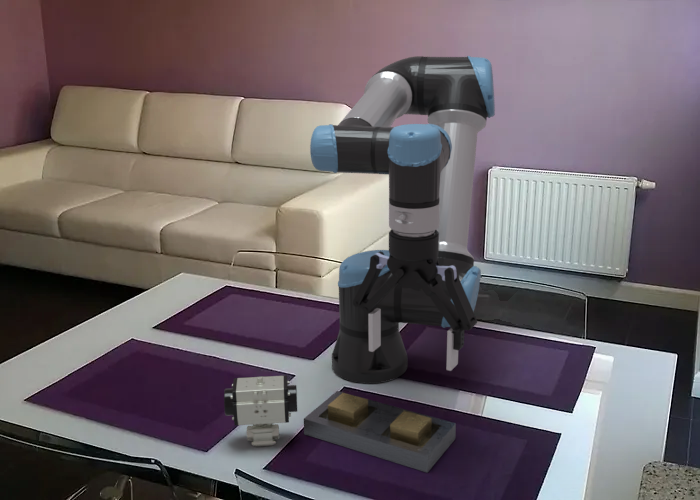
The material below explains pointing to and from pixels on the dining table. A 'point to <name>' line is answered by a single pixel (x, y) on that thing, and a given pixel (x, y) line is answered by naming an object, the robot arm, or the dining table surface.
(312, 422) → the tray
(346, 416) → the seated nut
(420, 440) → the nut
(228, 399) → the pneumatic valve
